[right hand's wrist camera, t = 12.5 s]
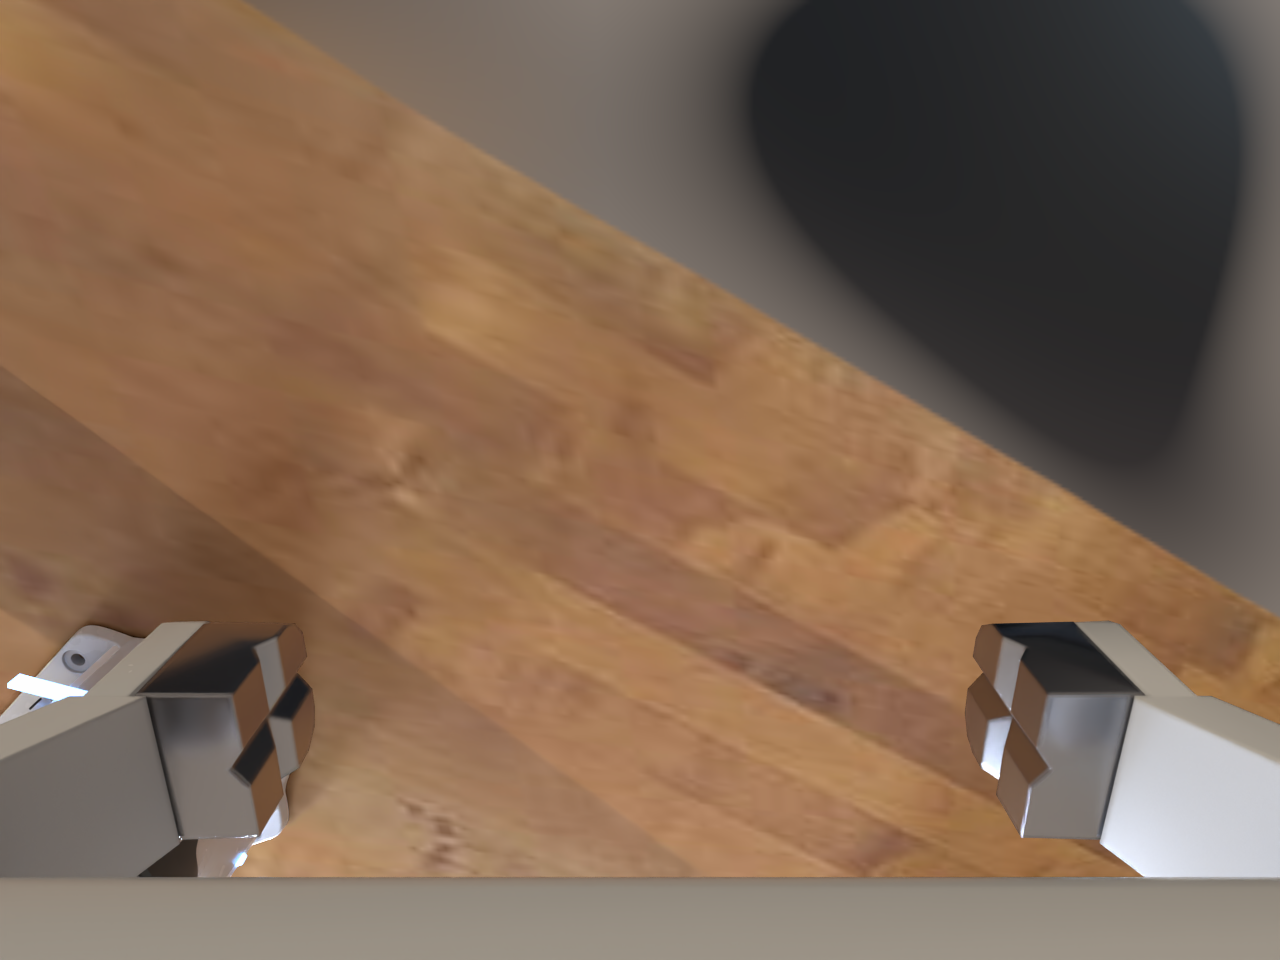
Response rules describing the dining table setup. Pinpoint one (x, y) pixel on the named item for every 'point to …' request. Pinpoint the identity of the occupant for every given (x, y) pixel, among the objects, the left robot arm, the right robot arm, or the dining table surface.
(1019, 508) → the dining table surface
